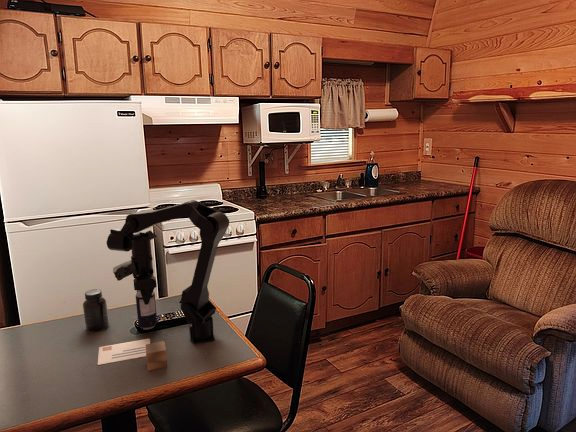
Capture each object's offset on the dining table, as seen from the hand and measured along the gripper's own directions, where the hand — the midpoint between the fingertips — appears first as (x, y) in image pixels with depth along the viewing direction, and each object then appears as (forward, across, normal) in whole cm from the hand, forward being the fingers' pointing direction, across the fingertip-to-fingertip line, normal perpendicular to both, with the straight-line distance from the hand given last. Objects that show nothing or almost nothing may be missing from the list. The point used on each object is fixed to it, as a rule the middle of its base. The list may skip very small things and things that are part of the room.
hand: (145, 300), depth 138 cm
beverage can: (+9, 0, 0) cm, 9 cm away
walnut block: (+10, +22, +1) cm, 24 cm away
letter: (+9, +12, -7) cm, 17 cm away
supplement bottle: (+10, -7, -15) cm, 19 cm away
